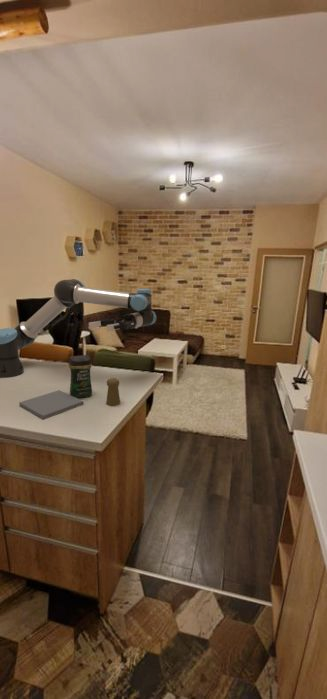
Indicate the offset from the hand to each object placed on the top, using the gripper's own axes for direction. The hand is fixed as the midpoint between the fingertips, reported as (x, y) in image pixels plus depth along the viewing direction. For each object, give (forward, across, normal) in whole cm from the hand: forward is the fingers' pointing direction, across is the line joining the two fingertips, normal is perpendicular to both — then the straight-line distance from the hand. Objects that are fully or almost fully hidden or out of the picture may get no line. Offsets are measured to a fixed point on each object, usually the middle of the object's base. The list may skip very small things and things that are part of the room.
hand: (98, 326), depth 141 cm
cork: (+8, -17, -31) cm, 36 cm away
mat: (+27, 0, -29) cm, 40 cm away
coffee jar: (+12, 0, -30) cm, 32 cm away
